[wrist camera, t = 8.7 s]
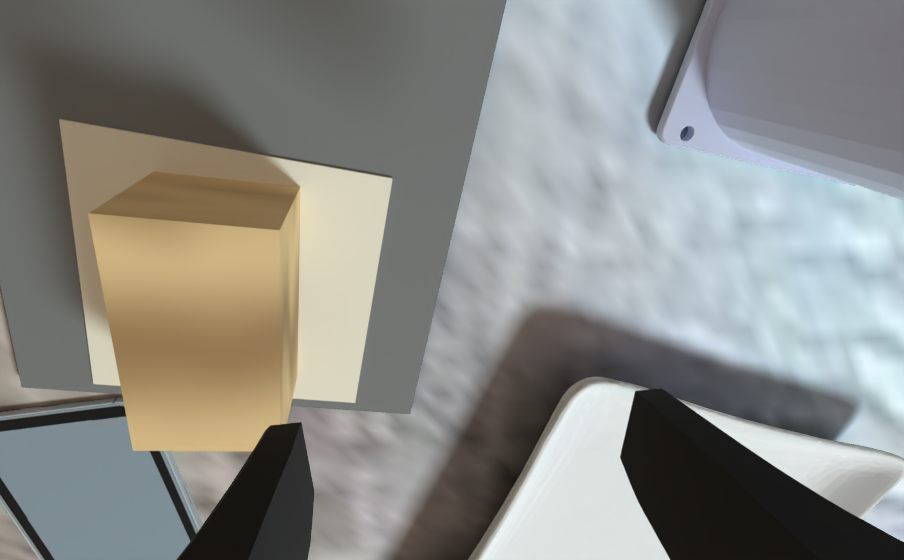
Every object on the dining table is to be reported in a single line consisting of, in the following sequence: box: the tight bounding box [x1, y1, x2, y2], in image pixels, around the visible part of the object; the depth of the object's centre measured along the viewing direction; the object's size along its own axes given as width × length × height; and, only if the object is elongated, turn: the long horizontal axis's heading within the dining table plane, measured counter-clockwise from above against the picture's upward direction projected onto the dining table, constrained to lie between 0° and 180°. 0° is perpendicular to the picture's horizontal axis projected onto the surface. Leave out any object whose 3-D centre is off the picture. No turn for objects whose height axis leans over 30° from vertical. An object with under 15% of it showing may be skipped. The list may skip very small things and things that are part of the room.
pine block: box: [88, 171, 300, 451], centre depth 16 cm, size 8×4×4 cm, turn 171°
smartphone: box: [0, 397, 203, 560], centre depth 23 cm, size 7×1×15 cm
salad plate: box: [468, 377, 904, 560], centre depth 27 cm, size 21×21×3 cm
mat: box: [0, 0, 506, 414], centre depth 16 cm, size 15×20×1 cm
